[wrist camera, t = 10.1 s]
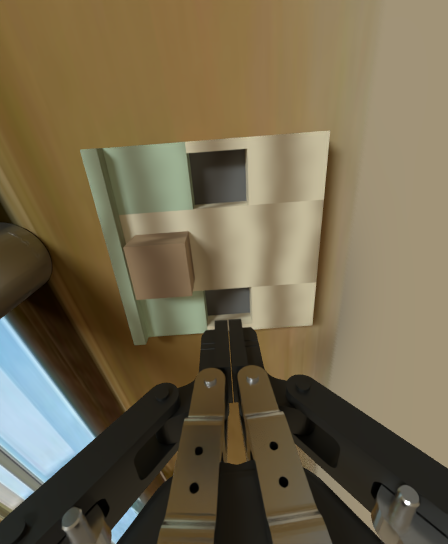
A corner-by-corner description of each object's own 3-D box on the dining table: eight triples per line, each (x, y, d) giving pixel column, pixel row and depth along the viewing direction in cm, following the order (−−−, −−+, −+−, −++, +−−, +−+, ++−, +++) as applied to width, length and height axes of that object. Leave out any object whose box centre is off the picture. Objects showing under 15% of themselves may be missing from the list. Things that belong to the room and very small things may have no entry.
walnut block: (188, 231, 29) (184, 242, 26) (194, 278, 32) (192, 296, 28) (134, 235, 29) (123, 247, 26) (145, 282, 32) (136, 300, 28)
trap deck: (319, 132, 28) (336, 129, 24) (305, 312, 38) (316, 332, 34) (99, 149, 28) (79, 149, 24) (143, 324, 38) (134, 345, 34)
